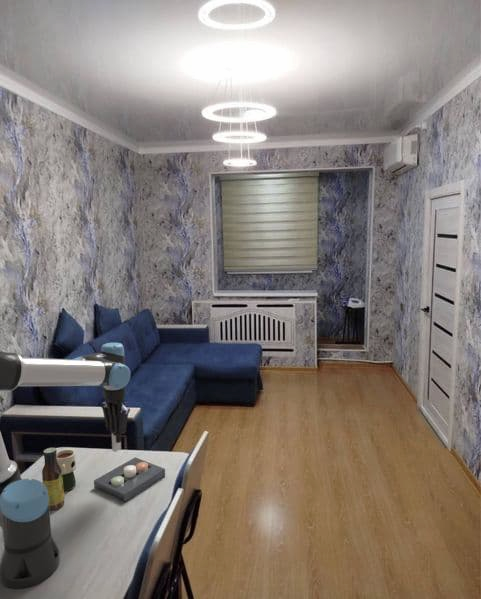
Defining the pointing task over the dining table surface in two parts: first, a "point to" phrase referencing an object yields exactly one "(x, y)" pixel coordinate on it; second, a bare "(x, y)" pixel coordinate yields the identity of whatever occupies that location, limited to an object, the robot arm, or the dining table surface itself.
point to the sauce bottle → (53, 479)
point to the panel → (132, 485)
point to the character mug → (67, 467)
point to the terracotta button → (142, 466)
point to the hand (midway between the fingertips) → (116, 449)
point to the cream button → (130, 471)
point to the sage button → (117, 481)
